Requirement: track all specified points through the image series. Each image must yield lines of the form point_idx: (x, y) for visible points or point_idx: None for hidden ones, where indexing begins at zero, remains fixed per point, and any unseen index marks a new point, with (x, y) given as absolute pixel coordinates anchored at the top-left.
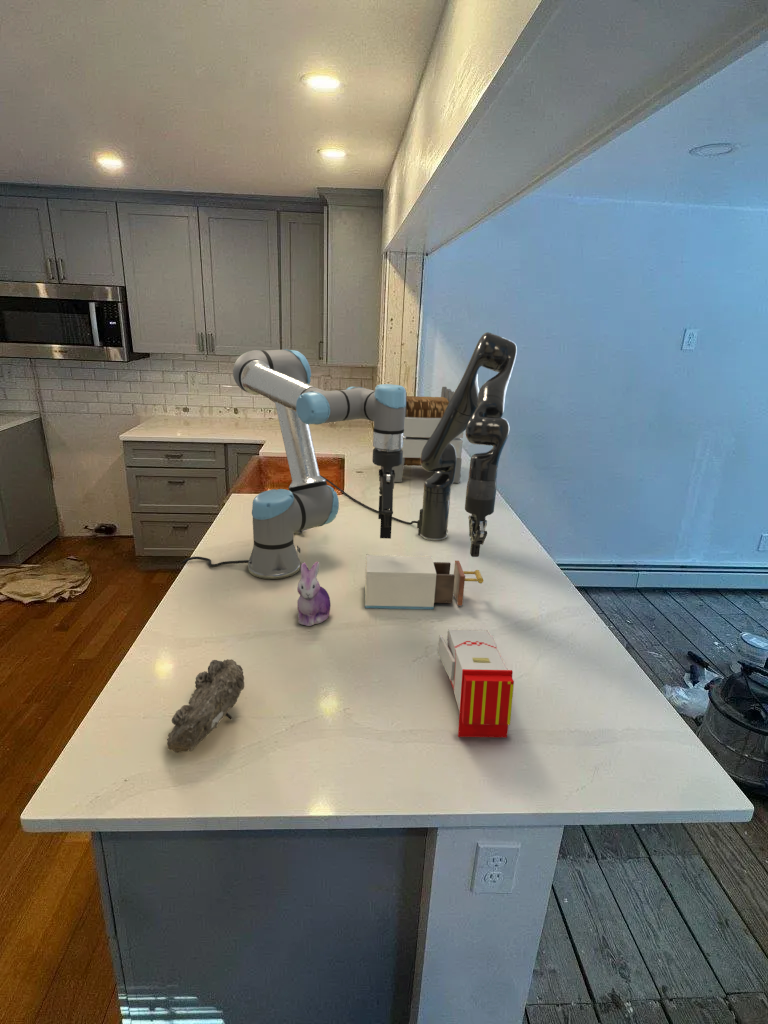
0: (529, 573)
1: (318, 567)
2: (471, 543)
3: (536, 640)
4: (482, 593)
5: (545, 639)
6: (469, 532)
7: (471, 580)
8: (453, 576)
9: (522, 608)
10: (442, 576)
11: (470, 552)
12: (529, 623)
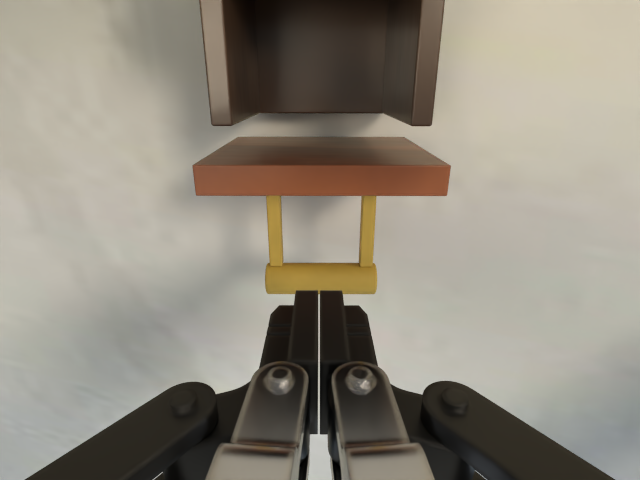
0: None
1: None
2: (321, 356)
3: (65, 362)
4: (380, 263)
5: (79, 387)
6: (499, 414)
7: (268, 230)
8: (212, 116)
9: None
10: (202, 27)
11: (325, 298)
12: (169, 367)
